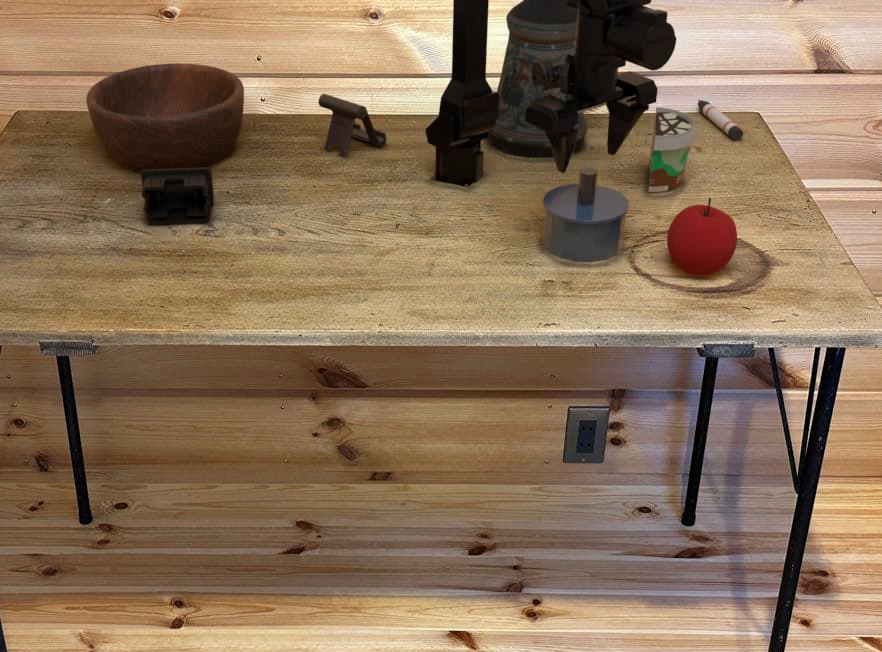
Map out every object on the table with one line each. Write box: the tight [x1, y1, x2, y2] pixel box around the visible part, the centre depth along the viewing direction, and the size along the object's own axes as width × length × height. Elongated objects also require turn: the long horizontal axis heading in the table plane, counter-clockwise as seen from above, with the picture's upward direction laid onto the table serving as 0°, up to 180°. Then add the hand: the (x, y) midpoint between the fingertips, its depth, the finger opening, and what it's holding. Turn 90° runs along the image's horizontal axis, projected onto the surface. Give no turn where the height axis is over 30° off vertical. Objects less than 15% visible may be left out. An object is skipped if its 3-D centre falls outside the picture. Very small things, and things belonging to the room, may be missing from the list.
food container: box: [647, 106, 697, 194], centre depth 179 cm, size 12×6×10 cm, turn 168°
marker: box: [697, 99, 744, 141], centre depth 200 cm, size 15×2×2 cm, turn 12°
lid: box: [542, 167, 630, 224], centre depth 161 cm, size 12×12×6 cm
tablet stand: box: [318, 93, 387, 157], centre depth 193 cm, size 9×8×8 cm
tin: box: [542, 209, 627, 263], centre depth 164 cm, size 11×11×6 cm
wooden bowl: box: [85, 63, 245, 172], centre depth 192 cm, size 25×25×10 cm
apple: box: [666, 197, 738, 277], centre depth 157 cm, size 9×9×10 cm
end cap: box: [140, 166, 215, 226], centre depth 174 cm, size 10×7×7 cm
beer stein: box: [487, 0, 588, 159], centre depth 189 cm, size 16×19×25 cm
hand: (586, 162), depth 159 cm, fingers open, 9 cm apart
